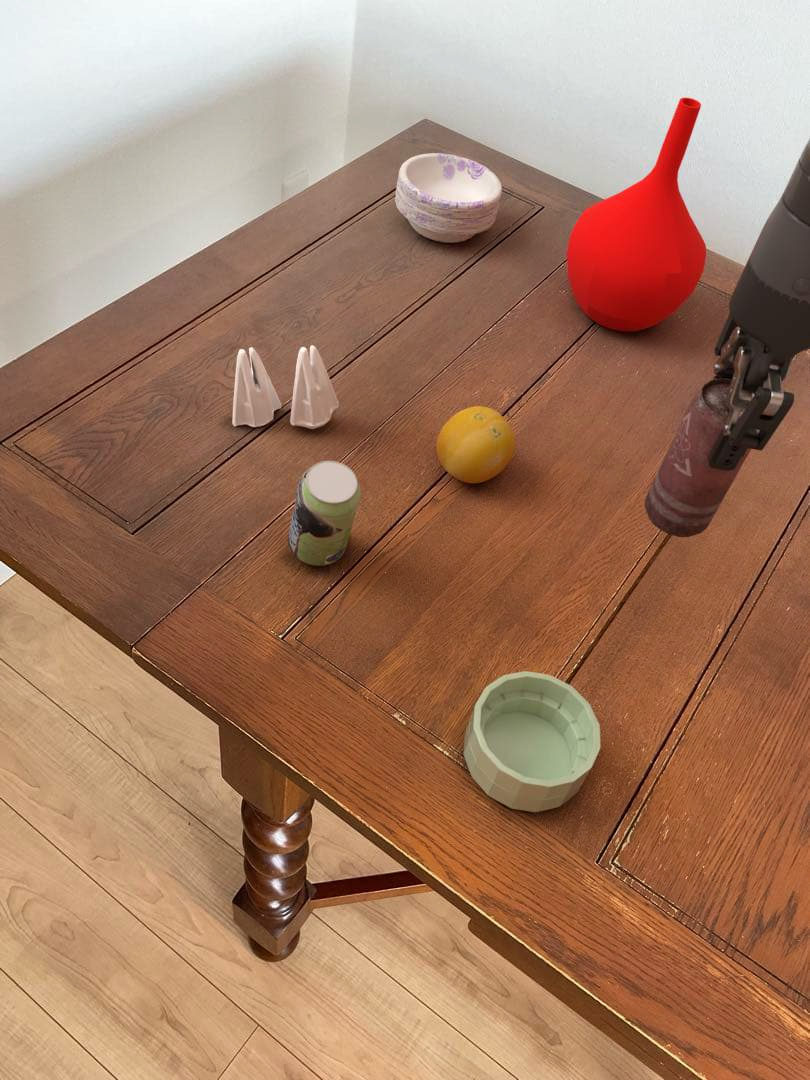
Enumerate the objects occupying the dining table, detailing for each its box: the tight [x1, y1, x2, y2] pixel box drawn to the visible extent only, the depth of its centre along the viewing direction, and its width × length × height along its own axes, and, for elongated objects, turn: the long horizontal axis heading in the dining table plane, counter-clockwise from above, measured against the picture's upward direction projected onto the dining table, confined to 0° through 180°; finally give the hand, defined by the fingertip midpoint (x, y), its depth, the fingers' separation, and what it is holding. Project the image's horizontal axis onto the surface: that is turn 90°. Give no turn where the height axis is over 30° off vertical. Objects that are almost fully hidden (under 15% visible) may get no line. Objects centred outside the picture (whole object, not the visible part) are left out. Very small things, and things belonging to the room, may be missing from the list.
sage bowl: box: [463, 670, 601, 813], centre depth 86 cm, size 11×11×6 cm
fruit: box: [435, 405, 516, 484], centre depth 109 cm, size 9×8×8 cm
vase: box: [566, 97, 707, 333], centre depth 126 cm, size 18×18×30 cm
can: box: [644, 379, 755, 538], centre depth 83 cm, size 6×6×14 cm
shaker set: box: [231, 344, 340, 430], centre depth 109 cm, size 12×4×11 cm, turn 89°
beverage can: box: [287, 460, 362, 567], centre depth 96 cm, size 6×7×12 cm
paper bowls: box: [394, 152, 503, 244], centre depth 142 cm, size 15×15×8 cm
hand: (715, 438), depth 82 cm, fingers closed on can, 6 cm apart
